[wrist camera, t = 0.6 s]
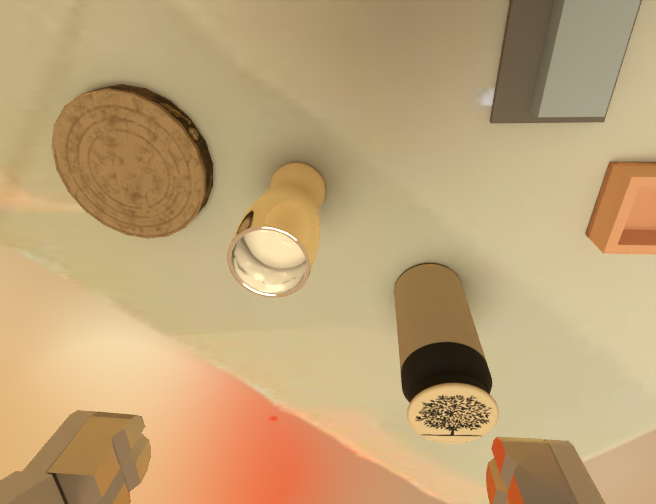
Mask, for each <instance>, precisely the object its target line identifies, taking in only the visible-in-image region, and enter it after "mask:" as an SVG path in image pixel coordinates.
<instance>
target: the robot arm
mask: <svg viewBox="0 0 656 504" xmlns="http://www.w3.org/2000/svg"><path fill="white" fill-rule="evenodd" d="M144 427H145V425H144V422H143V419H142V416H137V415H129V414H118V413H106V412H93V411H80V410H79V411H78V410H77V411H76V412H74V413H72V414H71V415H70V416H69V417H68V418H67V419H66V420H65V421H64V423H63V424H62V425H61V426H60V427H59V429H58V430H57V431H56V432H55V433H54V435H53V436H52V437H51V438H50V439H49V440H48V442H47V443H46V444H45V445H44V446H43V448H42V449H41V450H40V451H39V452H38V453H37V455H36V456H35V457H34V458H33V459H32V461H31V462H30V463H29V464H28V465H27V467H26V468H25V469H24V470H23V471H22V472H18V471H16V472H14V473H12V474H11V475H9V476H7V477H5V478H4V479H2V480H0V504H130V502H131V500H130V493H129V492H130V491H131V490H132V489H134V488H135V487H136V486H137V485H139V484H140V483H141V482H142V480H143V478H144V476H145V473H146V472H147V469H148V465H149V461H150V458H151V447H150V443H149V440H148V439H147V438H146V437H145V436H144V435H143V434H142V433H141V432H142V431H143V429H144ZM491 449H492V452H493V455H494V459H492V460H491V461H490V462H488V466H487V472H486V486H487V492H488V498H489V502H490V504H605V502H604V500H603V498H602V497H601V495H600V493H599V491H598V489H597V488H596V486H595V484H594V482H593V480H592V479H591V477H590V475H589V473H588V471H587V470H586V468H585V466H584V464H583V462H582V461H581V459H580V457H579V455H578V453H577V451H576V450H575V448H574V446H573V445H572V444H571V443H570V442H569V441H562V440H545V439H544V440H542V439H532V438H511V437H496V438H495V439H494V440H493V444H492V448H491Z"/></svg>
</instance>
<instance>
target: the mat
mask: <svg viewBox="0 0 656 504" xmlns="http://www.w3.org/2000/svg"><path fill="white" fill-rule="evenodd" d="M641 1H642V0H641ZM641 1H640V4H641ZM553 2H554V0H510V6H509V12H508V17H507V23H506V29H505V35H504V41H503V47H502V53H501V59H500V65H499V70H498V76H497V82H496V88H495V94H494V100H493V106H492V112H491V118H490V122H491V123H562V122H604V120H605V117H606V114H607V111H606V114H605V117H537V116H535V115H534V114H532V113H531V112H530V108H531V104H532V99H533V94H534V90H535V85H536V81H537V76H538V71H539V67H540V62H541V57H542V53H543V48H544V44H545V39H546V34H547V30H548V25H549V21H550V16H551V11H552V7H553ZM640 4H639V7H638V11H639V8H640ZM638 11H637V14H638ZM637 14H636V17H637ZM636 17H635V20H634V24H635V21H636ZM634 24H633V27H634ZM633 27H632V30H633ZM632 30H631V33H632ZM631 33H630V36H629V40H630V37H631ZM629 40H628V43H629ZM628 43H627V46H628ZM627 46H626V49H627ZM626 49H625V53H626ZM625 53H624V56H625ZM624 56H623V59H624ZM623 59H622V62H623ZM622 62H621V65H622ZM621 65H620V69H621ZM620 69H619V72H620ZM619 72H618V75H619ZM618 75H617V78H618ZM617 78H616V82H617ZM616 82H615V85H616ZM615 85H614V88H615ZM614 88H613V91H614ZM613 91H612V94H613ZM612 94H611V98H612ZM611 98H610V101H611ZM610 101H609V104H610ZM609 104H608V107H609ZM608 107H607V110H608Z"/></svg>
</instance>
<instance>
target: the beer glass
mask: <svg viewBox="0 0 656 504" xmlns="http://www.w3.org/2000/svg"><path fill="white" fill-rule="evenodd" d="M325 194H326V188H325V183H324V181H323V179H322V177H321V175H320V174H319V173H318V172H317V171H316V170H315V169H314V168H312V167H311V166H309V165H306V164H303V163H289V164H286V165H284V166H282V167H280V168H279V169H278V170H277V171H276V172H275V173H274V175H273V176H272V179H271V182H270V189H269V190H268V191H267V192H266V193H264V194H263V195H262V196H261V197H259V198H258V199H257V200H256V201H255V202H254V203H253V204H252V205H251V206H250V208H249V209H248V210H247V212H246V213H245V215H244V216H243V218H242V220H241V222H240V224H239V226H238V228H237V230H236V232H235V235H234V237H233V240H232V242H231V244H230V246H229V248H228V253H227V261H228V266H229V269H230V271H231V273H232V275H233V276H234V278H235V279H236V280H237V281H238V282H239V283H240V284H241V285H242V286H243V287H244V288H246V289H247V290H249V291H251V292H253V293H255V294H258V295H261V296H265V297H283V296H287V295H290V294H292V293H294V292H296V291H298V290H299V289H300V288H301V287H302V286H303V285H304V284H305V283H306V281H307V279H308V277H309V275H310V270H311V268H312V265H313V263H314V260H315V257H316V254H317V250H318V246H319V240H320V219H319V212H318V209H319V208H320V206H321V205H322V203H323V201H324V198H325Z"/></svg>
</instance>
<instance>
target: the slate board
mask: <svg viewBox="0 0 656 504" xmlns="http://www.w3.org/2000/svg"><path fill="white" fill-rule="evenodd" d="M640 1H641V0H554V2H553V7H552V11H551V16H550V21H549V25H548V30H547V34H546V39H545V44H544V48H543V53H542V57H541V62H540V67H539V71H538V76H537V81H536V85H535V90H534V94H533V99H532V104H531V108H530V112H531V113H532V114H534V115H535V116H537V117H605V114H606V111H607V107H608V104H609V101H610V98H611V94H612V91H613V88H614V85H615V82H616V78H617V75H618V72H619V69H620V65H621V62H622V59H623V56H624V53H625V49H626V46H627V43H628V40H629V36H630V33H631V30H632V27H633V24H634V20H635V17H636V14H637V11H638V7H639V4H640Z"/></svg>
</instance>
